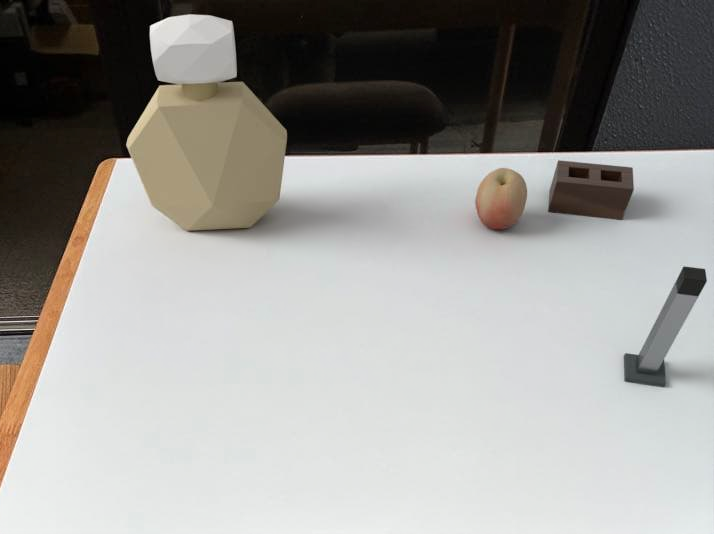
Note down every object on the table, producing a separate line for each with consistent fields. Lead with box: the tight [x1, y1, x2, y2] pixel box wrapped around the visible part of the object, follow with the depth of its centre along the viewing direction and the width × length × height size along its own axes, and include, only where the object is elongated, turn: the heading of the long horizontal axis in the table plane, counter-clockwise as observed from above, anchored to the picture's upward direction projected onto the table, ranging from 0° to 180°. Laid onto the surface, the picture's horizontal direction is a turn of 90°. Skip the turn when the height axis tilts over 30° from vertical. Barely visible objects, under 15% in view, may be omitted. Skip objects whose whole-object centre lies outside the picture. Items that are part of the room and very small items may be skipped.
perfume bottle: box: [125, 13, 288, 231], centre depth 97 cm, size 12×24×28 cm, turn 93°
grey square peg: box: [636, 265, 708, 375], centre depth 80 cm, size 2×2×14 cm
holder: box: [547, 159, 635, 221], centre depth 107 cm, size 7×12×5 cm, turn 76°
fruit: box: [474, 167, 528, 230], centre depth 103 cm, size 8×8×8 cm
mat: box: [623, 352, 667, 388], centre depth 86 cm, size 5×5×1 cm
